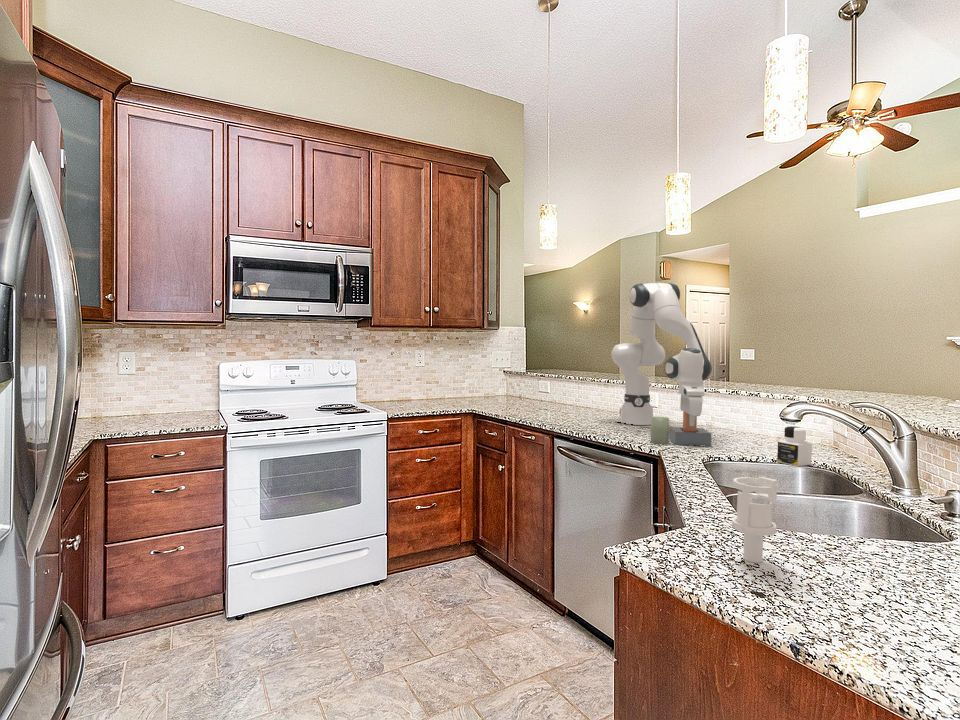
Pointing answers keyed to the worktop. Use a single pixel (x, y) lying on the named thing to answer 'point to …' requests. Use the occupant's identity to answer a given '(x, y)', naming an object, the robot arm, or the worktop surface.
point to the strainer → (755, 514)
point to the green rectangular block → (659, 430)
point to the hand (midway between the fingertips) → (689, 424)
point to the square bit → (686, 423)
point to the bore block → (689, 436)
